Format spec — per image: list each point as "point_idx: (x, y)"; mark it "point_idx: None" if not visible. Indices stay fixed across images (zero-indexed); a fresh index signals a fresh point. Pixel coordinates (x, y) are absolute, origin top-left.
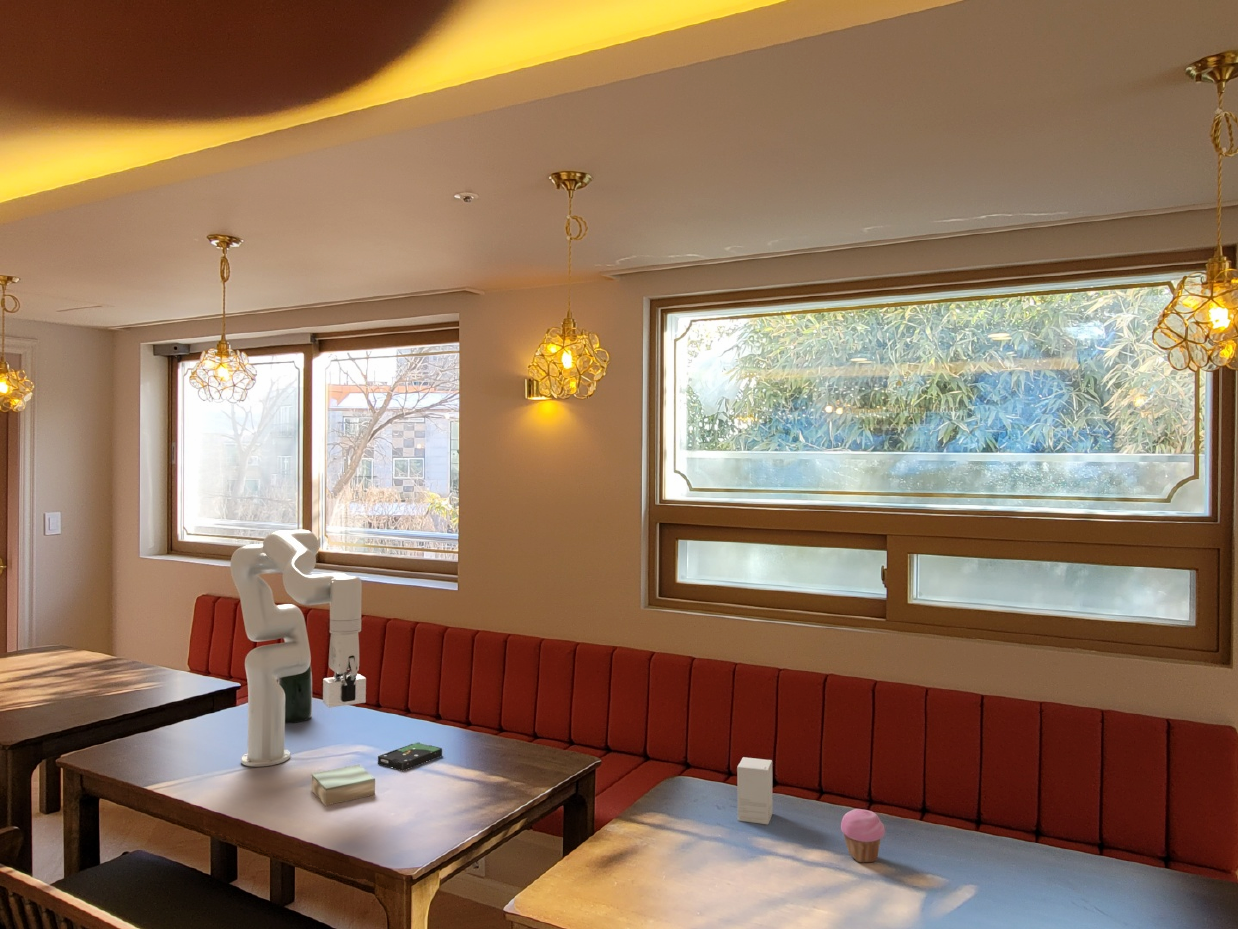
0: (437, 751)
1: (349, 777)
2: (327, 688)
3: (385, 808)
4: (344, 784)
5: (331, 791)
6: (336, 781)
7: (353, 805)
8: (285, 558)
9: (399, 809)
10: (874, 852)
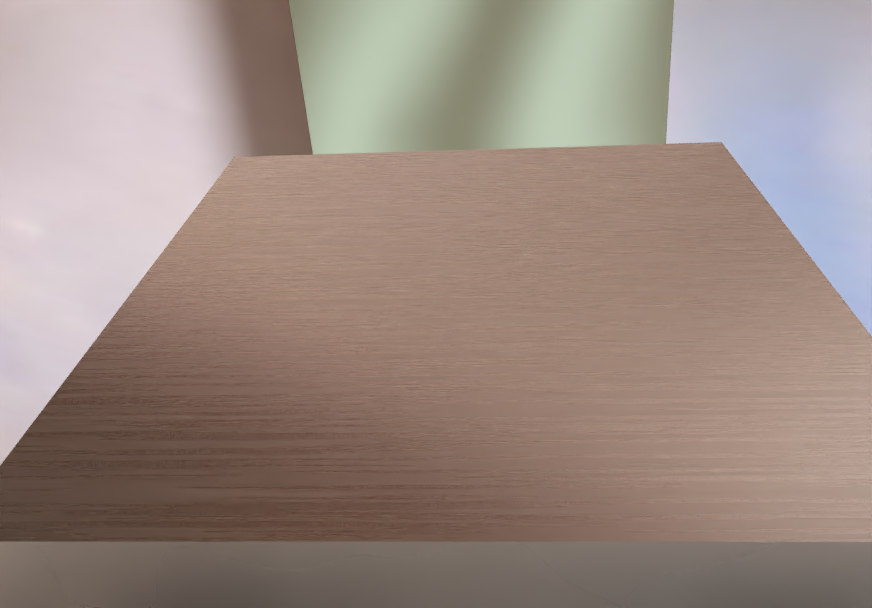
0: None
1: (431, 128)
2: (278, 368)
3: (113, 215)
4: (303, 62)
5: None
6: (393, 24)
7: (229, 70)
8: None
9: (74, 271)
10: None
